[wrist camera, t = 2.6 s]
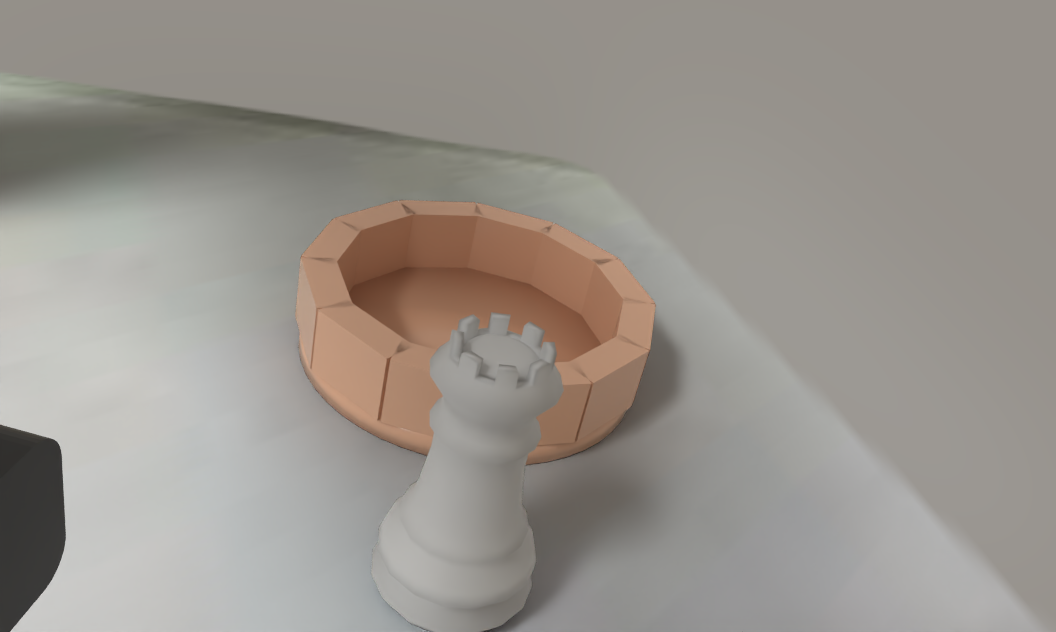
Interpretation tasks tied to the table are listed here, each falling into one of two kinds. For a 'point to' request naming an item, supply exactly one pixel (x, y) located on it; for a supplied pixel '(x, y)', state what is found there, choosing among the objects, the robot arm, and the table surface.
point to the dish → (465, 315)
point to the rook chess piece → (471, 484)
